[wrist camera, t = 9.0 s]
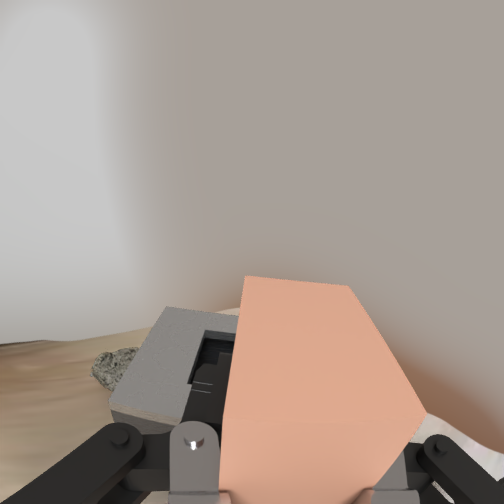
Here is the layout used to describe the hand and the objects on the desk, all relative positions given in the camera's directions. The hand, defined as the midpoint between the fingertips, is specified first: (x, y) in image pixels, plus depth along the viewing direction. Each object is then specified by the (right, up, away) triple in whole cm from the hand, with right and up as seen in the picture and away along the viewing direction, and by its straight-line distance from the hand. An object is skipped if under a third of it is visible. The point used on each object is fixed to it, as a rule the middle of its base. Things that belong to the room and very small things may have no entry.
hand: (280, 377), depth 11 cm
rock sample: (-17, -14, +25) cm, 33 cm away
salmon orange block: (-1, -7, -1) cm, 7 cm away
